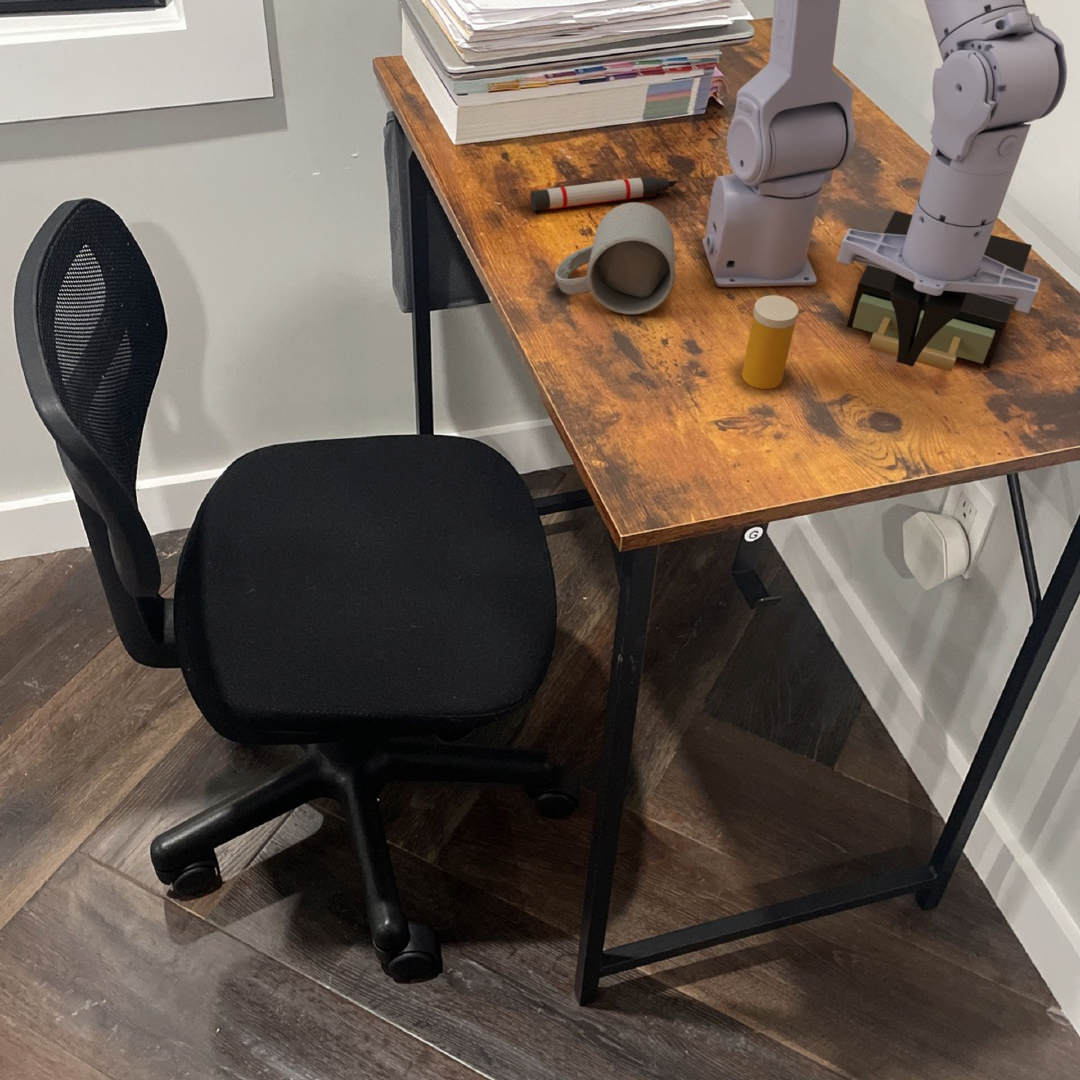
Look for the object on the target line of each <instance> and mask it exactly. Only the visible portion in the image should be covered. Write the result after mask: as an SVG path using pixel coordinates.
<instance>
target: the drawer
mask: <svg viewBox="0 0 1080 1080" xmlns="http://www.w3.org/2000/svg"><path fill="white" fill-rule="evenodd" d="M924 311H925V309H923V308H922V310H921V314H920V318H919V322H918V326H917V331H916V335H917V332H918V330H919V327H920V324H921V321H922V317H923V314H924ZM853 327H854V328H858V329H861V330H865V331H868V332H872V333H873V334H872V333H871V334H872V335H871V338H870V341H869V344H868V349H869V350H873V351H876V352H880V353H883V354H885V355H886V354H887V355H889V356H894V357H896V358H897V357H898V346H899V340H898V326H897V320H896V316H895V312H894V308H893V305H892V303H891V299H887V298H883V297H880V296H876V295H872V296H869V295H865V294H863V295H862V296H861V299H860V301H859V304H858V308H857V311H856V315H855V319H854V322H853ZM987 327H988V326H986V325H982V324H978V323H975V322H971V321H967V320H964V319H960V318H956V317H954V319H952V320H951V321H950V322H948V323H947V324H946V325H945V326H944V327H942V328H941V329H940V330H939V331H938V332H937V333H936V334H935V335H934V336H933V337H932V339H931V340H930V341H929V342H928V343H927V345H926V346H925V347H924V349H923V350H922V352H921V353H920V355H919V356H918V358H917V360H916V362H915V363H918V364H921V365H925V366H928V367H932V368H935V369H939V370H943V371H945V372H950V373H951V372H953V369H954V366H955V364H956V361H957V359H958V358H957V357H960V358H964V359H967V360H971V361H974V362H978V363H982V364H983V363H984V360H985V358H986V355H987V352H988V350H989V347H990V345H991V342H992V339H993V337H994V334H995V330H993V329H989V328H987ZM854 328H853V329H854ZM858 329H857V330H858ZM861 330H860V331H861ZM865 331H864V332H865ZM868 332H867V333H868ZM916 335H915V337H916ZM960 358H959V359H960ZM967 360H966V361H967ZM974 362H973V363H974ZM978 363H977V364H978Z"/></svg>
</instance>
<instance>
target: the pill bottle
mask: <svg viewBox="0 0 1080 1080" xmlns="http://www.w3.org/2000/svg"><path fill="white" fill-rule="evenodd" d="M753 306H754V307H753V311H752V314H753V315H752V319H751V326H750V329H749V330H750V331H749V335H748V341H747V345H746V351H745V356H744V361H743V365H742V366H743V368H742V371H741V376H742V378H743V381H744V382H745V383H746V384H747V385H748V386H751V387H752V388H756V389H760V390H771V389H775V388H777V387H779V386H780V385H781V384H782V381H783V378H784V374H785V369H786V366H787V360H788V356H789V352H790V348H791V343H792V339H793V334H794V330H795V326H796V322H797V320H798V316H799V307H798V305H797V304H796V303H795V301H793V300H791V299H790V298H788V297H785V296H782V295H773V294H771V295H765V296H762V297H760V298H758V299H757V300H756V301H755V302H754V305H753Z"/></svg>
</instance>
